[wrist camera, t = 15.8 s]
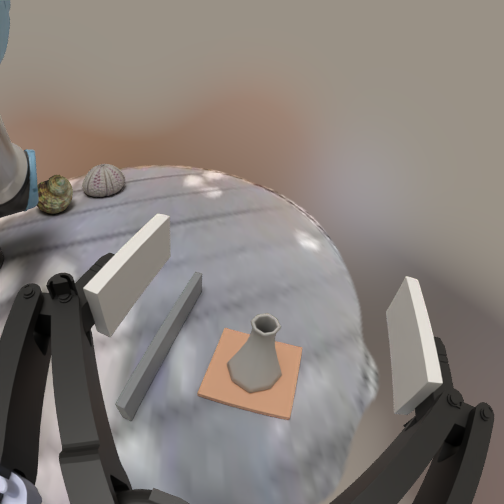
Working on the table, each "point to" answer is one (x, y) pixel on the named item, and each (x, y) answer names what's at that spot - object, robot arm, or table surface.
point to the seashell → (54, 194)
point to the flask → (257, 357)
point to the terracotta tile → (229, 393)
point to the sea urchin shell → (103, 181)
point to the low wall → (158, 349)
